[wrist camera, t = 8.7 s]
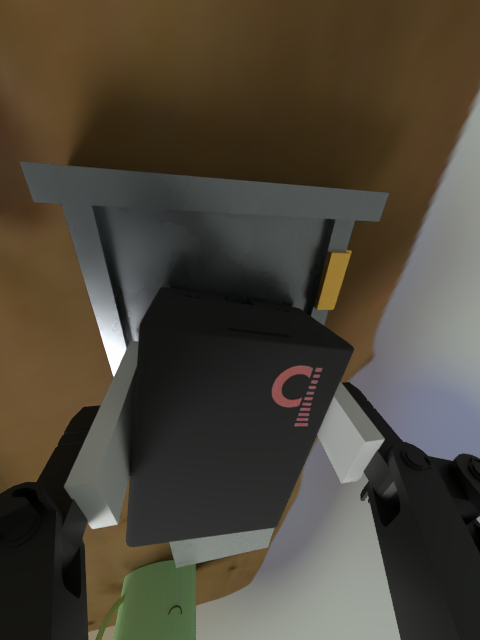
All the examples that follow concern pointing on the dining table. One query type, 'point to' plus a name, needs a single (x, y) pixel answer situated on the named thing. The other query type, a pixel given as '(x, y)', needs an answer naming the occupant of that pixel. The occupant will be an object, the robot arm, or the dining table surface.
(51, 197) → the dark gray tray
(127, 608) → the mug
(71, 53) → the dining table surface
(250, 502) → the electronic device
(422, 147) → the dining table surface
